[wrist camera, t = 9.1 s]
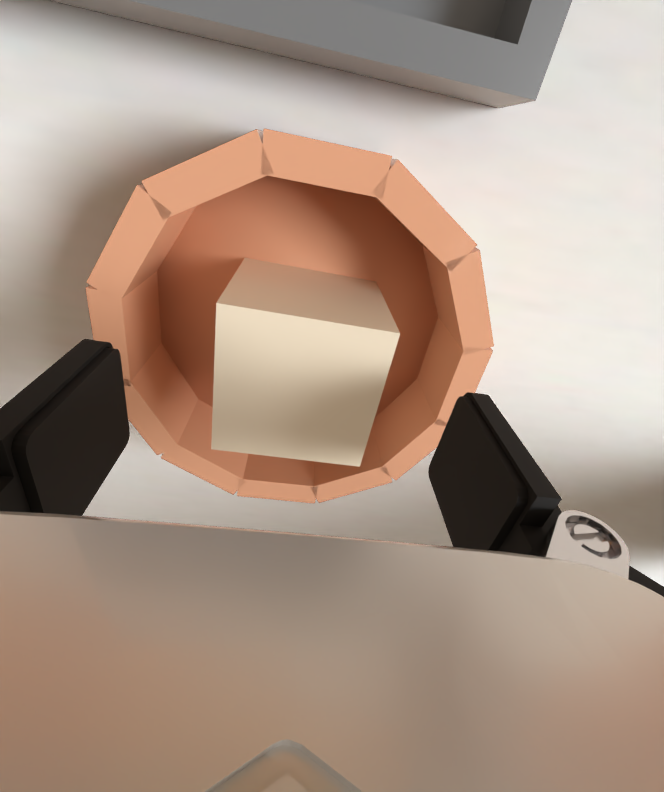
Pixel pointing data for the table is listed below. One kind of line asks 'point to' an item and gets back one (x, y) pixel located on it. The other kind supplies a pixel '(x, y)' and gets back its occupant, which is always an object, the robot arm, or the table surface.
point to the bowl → (300, 247)
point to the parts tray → (382, 37)
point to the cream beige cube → (299, 363)
